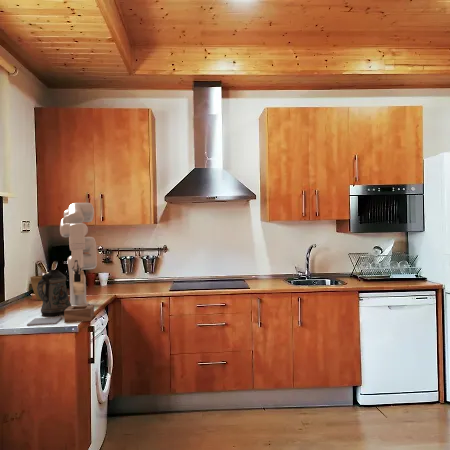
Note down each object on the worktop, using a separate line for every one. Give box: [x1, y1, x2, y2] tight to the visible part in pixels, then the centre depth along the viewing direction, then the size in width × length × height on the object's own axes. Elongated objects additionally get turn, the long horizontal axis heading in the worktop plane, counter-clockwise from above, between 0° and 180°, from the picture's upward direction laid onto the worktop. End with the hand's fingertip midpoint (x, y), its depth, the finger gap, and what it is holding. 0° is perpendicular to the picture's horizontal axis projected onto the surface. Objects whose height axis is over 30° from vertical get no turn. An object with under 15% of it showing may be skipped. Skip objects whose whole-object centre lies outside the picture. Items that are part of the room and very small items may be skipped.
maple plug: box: [73, 270, 85, 295], centre depth 235 cm, size 5×5×12 cm
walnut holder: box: [63, 304, 95, 323], centre depth 235 cm, size 13×13×6 cm
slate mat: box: [26, 316, 63, 327], centre depth 231 cm, size 14×14×1 cm
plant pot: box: [30, 274, 45, 301], centre depth 303 cm, size 15×15×16 cm
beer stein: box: [37, 269, 72, 318], centre depth 250 cm, size 16×19×25 cm
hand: (78, 280), depth 235 cm, fingers closed on maple plug, 5 cm apart
